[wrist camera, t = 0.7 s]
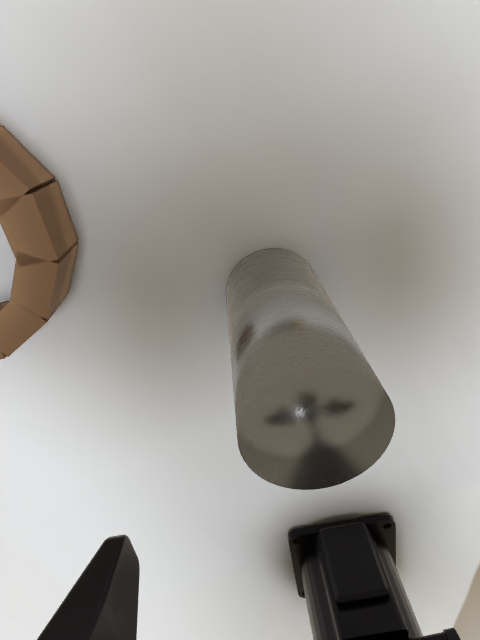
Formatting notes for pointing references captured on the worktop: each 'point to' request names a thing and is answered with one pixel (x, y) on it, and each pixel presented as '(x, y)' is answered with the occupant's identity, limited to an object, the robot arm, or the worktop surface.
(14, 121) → the worktop surface
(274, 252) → the grey metal peg
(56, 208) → the brown segmented ring
